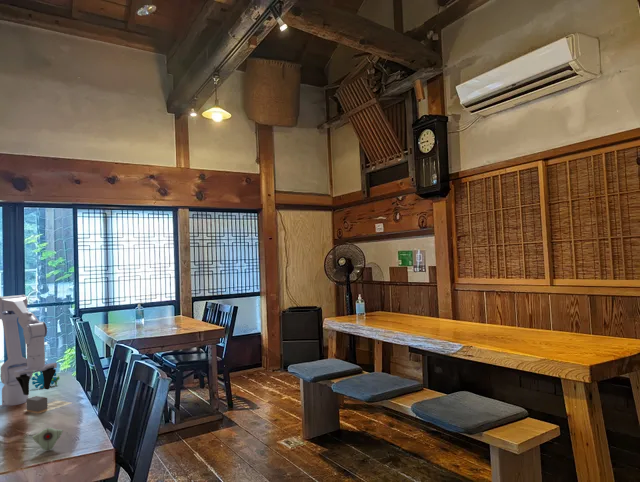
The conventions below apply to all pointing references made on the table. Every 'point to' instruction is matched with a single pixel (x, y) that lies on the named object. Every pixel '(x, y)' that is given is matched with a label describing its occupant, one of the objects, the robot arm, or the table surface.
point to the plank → (53, 405)
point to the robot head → (47, 438)
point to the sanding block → (37, 404)
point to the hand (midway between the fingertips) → (36, 391)
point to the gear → (41, 380)
